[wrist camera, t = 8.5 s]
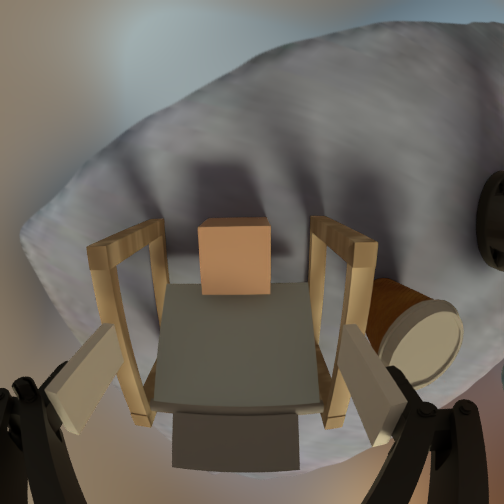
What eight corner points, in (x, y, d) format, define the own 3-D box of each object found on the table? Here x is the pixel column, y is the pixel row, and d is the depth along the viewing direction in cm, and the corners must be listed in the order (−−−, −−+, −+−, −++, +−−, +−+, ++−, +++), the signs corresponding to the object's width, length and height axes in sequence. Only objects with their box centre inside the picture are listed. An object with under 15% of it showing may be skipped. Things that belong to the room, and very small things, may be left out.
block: (266, 272, 30) (266, 217, 29) (270, 294, 24) (270, 226, 23) (211, 273, 30) (208, 218, 29) (202, 294, 24) (197, 227, 23)
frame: (325, 216, 28) (378, 242, 16) (315, 350, 33) (342, 427, 20) (150, 219, 28) (86, 246, 16) (167, 351, 33) (135, 424, 20)
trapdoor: (308, 290, 28) (312, 278, 26) (321, 462, 18) (328, 466, 16) (168, 291, 28) (161, 280, 26) (155, 459, 18) (145, 462, 16)
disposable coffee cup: (328, 321, 32) (362, 385, 20) (370, 251, 30) (428, 289, 18) (384, 343, 33) (425, 400, 21) (422, 282, 31) (480, 323, 19)
